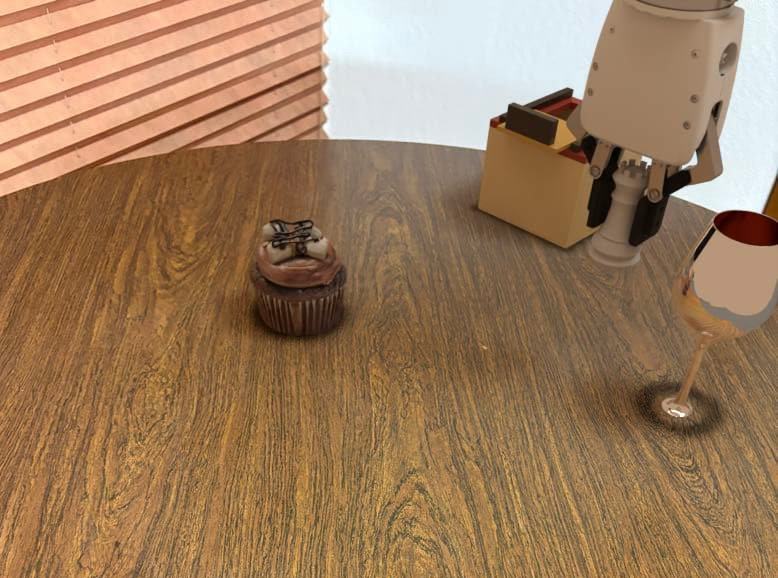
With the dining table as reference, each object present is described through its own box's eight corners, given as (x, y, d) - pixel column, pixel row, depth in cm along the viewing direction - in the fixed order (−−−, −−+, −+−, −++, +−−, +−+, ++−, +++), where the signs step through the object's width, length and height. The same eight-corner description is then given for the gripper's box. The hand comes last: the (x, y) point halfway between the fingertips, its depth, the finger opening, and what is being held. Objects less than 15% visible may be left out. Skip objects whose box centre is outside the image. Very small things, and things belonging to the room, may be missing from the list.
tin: (540, 179, 111) (558, 83, 102) (626, 216, 105) (653, 117, 97) (477, 211, 104) (491, 111, 96) (564, 251, 98) (587, 149, 90)
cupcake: (360, 335, 85) (364, 241, 78) (266, 351, 83) (260, 255, 75) (330, 285, 91) (331, 193, 84) (241, 299, 89) (234, 206, 81)
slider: (534, 113, 98) (539, 85, 96) (593, 136, 94) (599, 107, 92) (496, 130, 94) (500, 101, 92) (555, 154, 91) (561, 124, 88)
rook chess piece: (650, 262, 74) (676, 170, 68) (613, 277, 72) (636, 184, 66) (612, 240, 76) (635, 149, 70) (576, 254, 74) (595, 161, 68)
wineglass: (624, 425, 77) (689, 239, 64) (639, 374, 83) (702, 193, 69) (716, 450, 76) (803, 265, 62) (725, 397, 81) (807, 216, 68)
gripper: (823, -4, 57) (730, 252, 70) (611, -57, 64) (565, 184, 78) (770, 21, 53) (683, 286, 66) (551, -38, 60) (514, 211, 74)
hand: (620, 229), depth 72 cm, fingers closed on rook chess piece, 3 cm apart
